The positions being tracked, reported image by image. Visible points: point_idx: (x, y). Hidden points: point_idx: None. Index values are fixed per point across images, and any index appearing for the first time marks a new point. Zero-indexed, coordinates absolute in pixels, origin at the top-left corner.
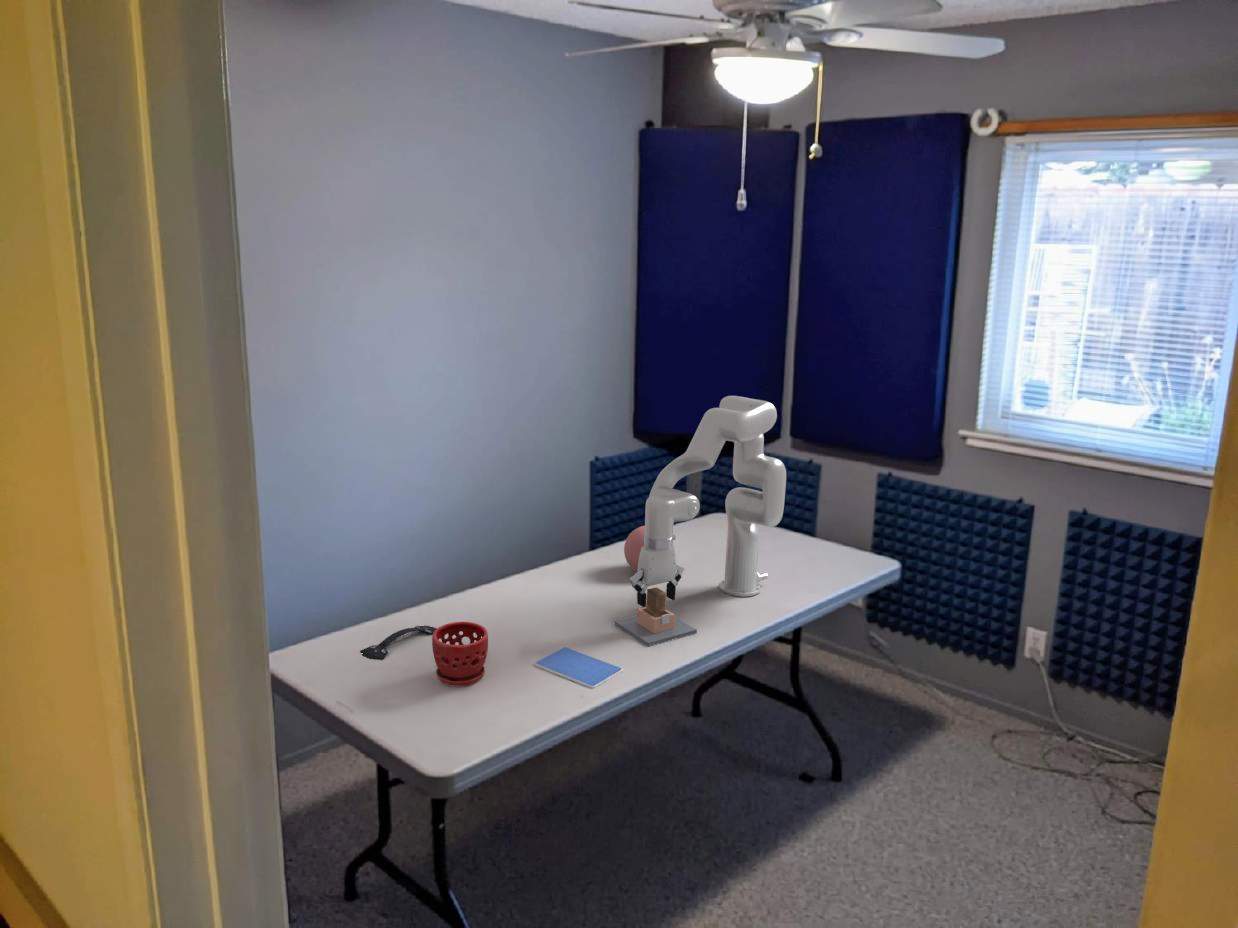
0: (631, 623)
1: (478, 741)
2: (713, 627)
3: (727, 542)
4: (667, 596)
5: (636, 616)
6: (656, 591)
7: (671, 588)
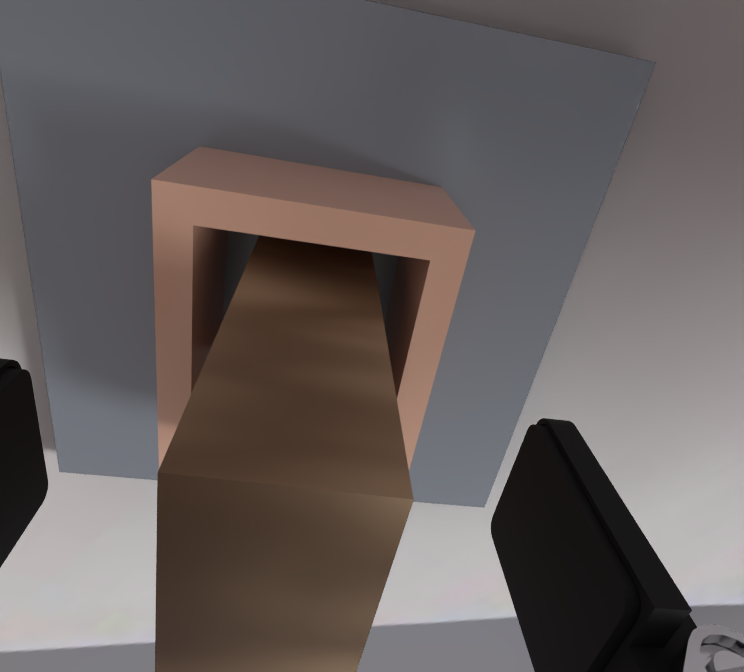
0: (137, 121)
1: None
2: (621, 491)
3: None
4: (527, 449)
5: (301, 11)
6: (250, 618)
7: (551, 659)
